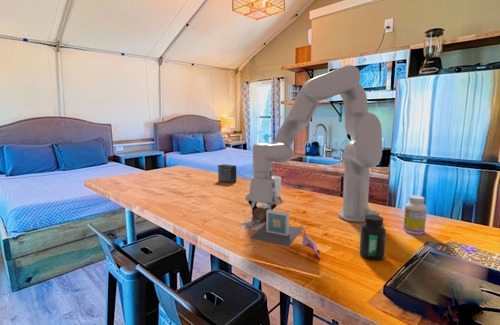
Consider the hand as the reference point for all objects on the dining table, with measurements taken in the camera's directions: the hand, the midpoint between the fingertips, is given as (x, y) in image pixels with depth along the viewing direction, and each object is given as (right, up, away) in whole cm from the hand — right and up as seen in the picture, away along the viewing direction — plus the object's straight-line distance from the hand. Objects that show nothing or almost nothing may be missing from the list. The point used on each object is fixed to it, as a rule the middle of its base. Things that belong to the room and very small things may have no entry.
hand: (262, 217), depth 115 cm
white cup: (+7, +5, +33) cm, 34 cm away
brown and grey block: (-2, -1, -3) cm, 4 cm away
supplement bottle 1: (+31, -6, -30) cm, 44 cm away
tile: (+5, -3, -15) cm, 16 cm away
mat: (+5, -3, -14) cm, 16 cm away
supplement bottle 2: (+54, -3, -13) cm, 56 cm away
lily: (+12, -6, -30) cm, 33 cm away
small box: (-20, +10, +68) cm, 71 cm away
